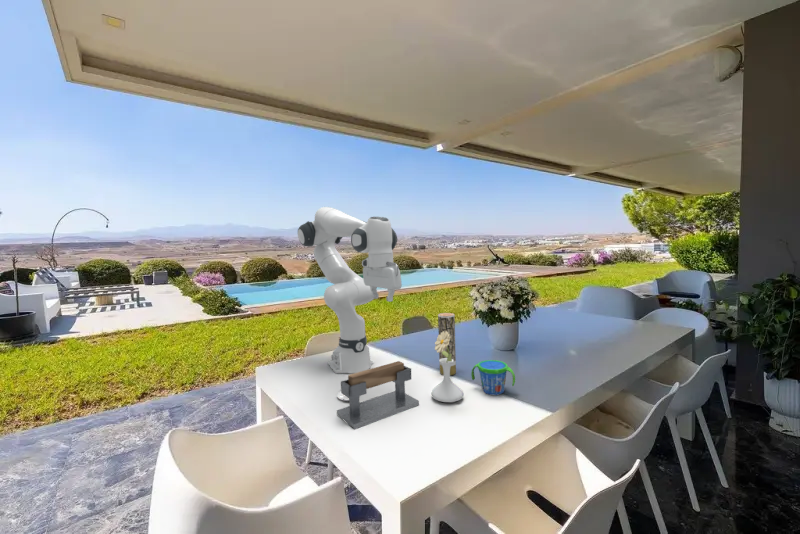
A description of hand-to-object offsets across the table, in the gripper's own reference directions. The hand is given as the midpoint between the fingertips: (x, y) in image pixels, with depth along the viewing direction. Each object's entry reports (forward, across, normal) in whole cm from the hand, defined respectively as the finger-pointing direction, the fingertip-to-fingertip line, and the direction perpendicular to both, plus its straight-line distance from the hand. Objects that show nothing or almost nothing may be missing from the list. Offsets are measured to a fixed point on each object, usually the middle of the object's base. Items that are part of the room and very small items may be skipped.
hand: (382, 299), depth 131 cm
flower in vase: (+35, -18, -14) cm, 42 cm away
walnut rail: (+26, -9, +9) cm, 29 cm away
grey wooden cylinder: (+35, 0, -31) cm, 47 cm away
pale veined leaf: (+36, +6, +12) cm, 38 cm away
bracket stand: (+35, -9, +9) cm, 37 cm away
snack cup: (+35, -24, -31) cm, 53 cm away
